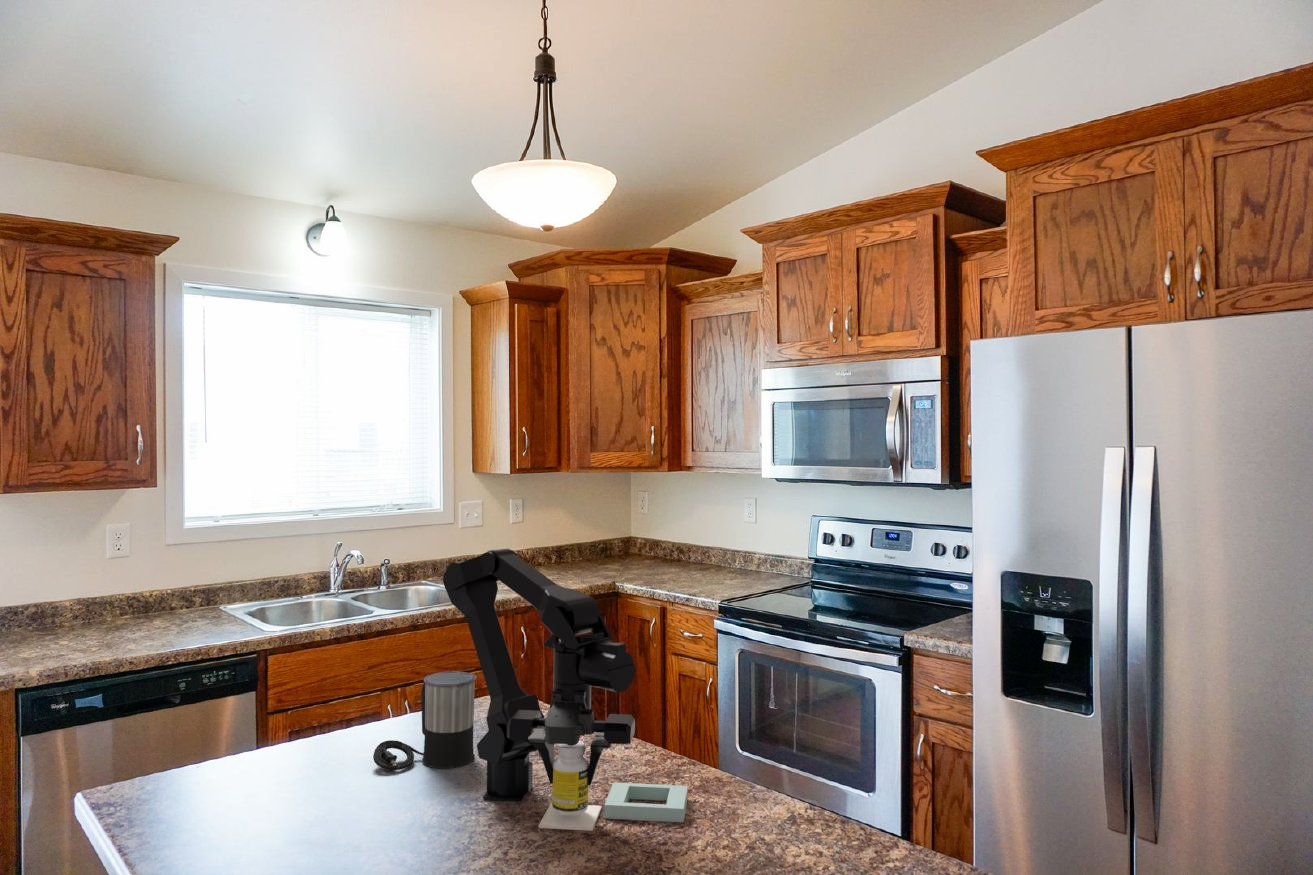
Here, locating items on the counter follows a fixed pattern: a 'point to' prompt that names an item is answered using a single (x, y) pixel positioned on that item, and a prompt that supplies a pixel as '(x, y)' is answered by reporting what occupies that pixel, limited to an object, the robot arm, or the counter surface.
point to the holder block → (622, 809)
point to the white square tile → (571, 819)
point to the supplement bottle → (570, 780)
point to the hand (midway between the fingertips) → (570, 783)
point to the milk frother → (440, 724)
